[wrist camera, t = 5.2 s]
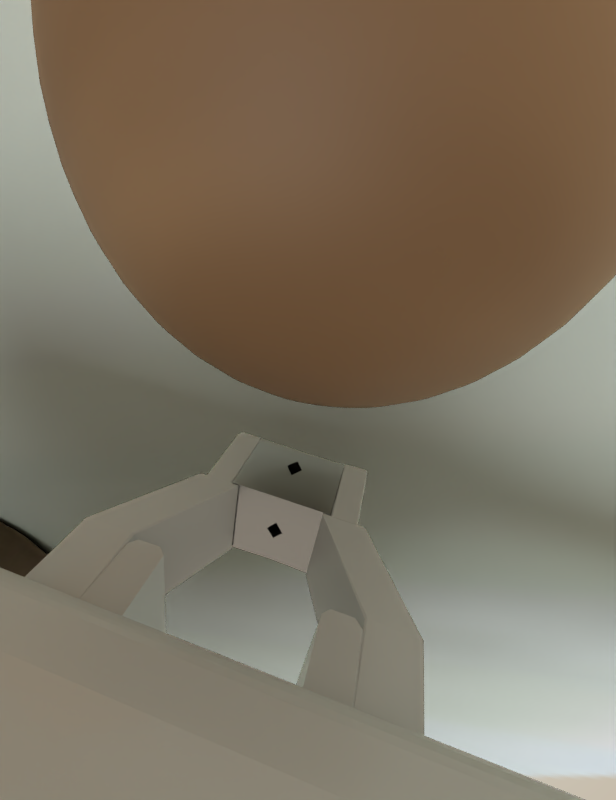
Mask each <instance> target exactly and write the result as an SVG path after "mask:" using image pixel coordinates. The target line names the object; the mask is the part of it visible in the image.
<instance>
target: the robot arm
mask: <svg viewBox="0 0 616 800" xmlns="http://www.w3.org/2000/svg"><path fill="white" fill-rule="evenodd" d="M366 479H367V470H364V469H361V468H357V467H354V466H350V465H347V464H345V466H344V464H341V463H338V462H335V461H332V460H328V459H325V458H322V457H318V456H315V455H312V454H309V453H305V452H303V451H300V450H297V449H294V448H291V447H288V446H285V445H282V444H279V443H276V442H273V441H270V440H267V439H264V438H263V439H262V438H260V437H257V436H254V435H251V434H248V433H245V432H241V433H239V434H238V435H237V436H236V437H235V439H234V440H233V441H232V443H231V444H230V445H229V447H228V448H227V449H226V451H225V452H224V453H223V455H222V456H221V457H220V459H219V460H218V461H217V463H216V464H215V465H214V466H213V468H212V469H211V470H210V472H209V473H208V474H207V475H205V474H202V473H200V474H197V475H195V476H192V477H189V478H187V479H184V480H182V481H179V482H176V483H174V484H171V485H169V486H166V487H164V488H161V489H158V490H156V491H153V492H151V493H148V494H145V495H143V496H140V497H138V498H135V499H132V500H130V501H127V502H125V503H122V504H120V505H117V506H114V507H112V508H109V509H107V510H104V511H101V512H99V513H96V514H94V515H91V516H88V517H86V518H85V519H84V520H83V521H82V522H81V523H80V524H79V525H78V526H77V527H76V528H75V529H74V530H73V531H72V532H71V533H70V534H68V535H67V536H66V537H65V538H64V539H63V540H62V541H61V542H60V543H59V544H58V545H57V546H56V547H55V548H54V549H53V550H52V551H51V552H50V553H49V554H48V555H47V556H46V557H45V558H44V559H43V560H42V561H41V562H40V563H39V564H38V565H36V566H35V567H34V568H33V569H32V570H31V571H30V572H29V573H28V574H27V575H26V576H25V577H23V576H20V575H18V574H15V573H13V572H10V571H8V570H5V569H3V568H0V800H585V799H583V798H580V797H577V796H575V795H572V794H570V793H567V792H565V791H562V790H560V789H557V788H555V787H552V786H550V785H547V784H545V783H542V782H540V781H537V780H535V779H532V778H530V777H527V776H524V775H522V774H519V773H517V772H514V771H512V770H509V769H507V768H504V767H502V766H499V765H497V764H494V763H492V762H489V761H487V760H484V759H482V758H479V757H476V756H474V755H471V754H469V753H466V752H464V751H461V750H459V749H456V748H454V747H451V746H449V745H446V744H444V743H441V742H439V741H436V740H434V739H431V738H429V737H426V736H424V641H423V639H422V637H421V635H420V633H419V631H418V629H417V628H416V626H415V624H414V622H413V620H412V618H411V616H410V614H409V612H408V610H407V608H406V606H405V604H404V602H403V600H402V598H401V596H400V595H399V593H398V591H397V589H396V587H395V585H394V583H393V581H392V579H391V577H390V575H389V573H388V571H387V569H386V567H385V565H384V563H383V562H382V560H381V558H380V556H379V554H378V552H377V550H376V548H375V546H374V544H373V542H372V540H371V538H370V536H369V534H368V532H367V530H366V529H365V527H362V526H359V525H358V523H359V517H360V512H361V506H362V501H363V495H364V490H365V484H366ZM232 547H235V548H238V549H241V550H244V551H247V552H250V553H254V554H257V555H260V556H263V557H266V558H269V559H272V560H274V561H277V562H279V563H282V564H285V565H287V566H290V567H292V568H295V569H298V570H300V571H303V572H305V573H306V578H307V582H308V586H309V590H310V594H311V598H312V602H313V606H314V611H315V615H316V619H317V623H318V625H317V628H316V630H315V633H314V636H313V639H312V642H311V644H310V647H309V650H308V653H307V656H306V658H305V661H304V664H303V667H302V669H301V672H300V675H299V678H298V681H297V683H296V685H295V684H293V683H290V682H288V681H285V680H283V679H280V678H278V677H275V676H273V675H270V674H268V673H265V672H263V671H260V670H258V669H255V668H253V667H250V666H248V665H245V664H243V663H240V662H237V661H235V660H232V659H230V658H227V657H225V656H222V655H220V654H217V653H215V652H212V651H210V650H207V649H205V648H202V647H200V646H197V645H195V644H192V643H190V642H187V641H184V640H182V639H179V638H177V637H174V636H172V635H169V634H167V633H166V611H165V595H166V594H167V593H168V592H170V591H171V590H173V589H174V588H176V587H177V586H179V585H180V584H181V583H183V582H184V581H186V580H187V579H189V578H190V577H192V576H193V575H194V574H196V573H197V572H199V571H200V570H202V569H203V568H205V567H206V566H208V565H209V564H210V563H212V562H213V561H215V560H216V559H218V558H219V557H221V556H222V555H223V554H225V553H226V552H228V551H229V550H231V548H232Z"/></svg>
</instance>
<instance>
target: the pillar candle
mask: <svg viewBox="0 0 616 800" xmlns="http://www.w3.org/2000/svg"><path fill="white" fill-rule="evenodd" d="M46 556H47V554H46V553H45V552H44V551H42V550H41V549H40V548H39V547H37V546H36V545H35V544H34V543H33V542H31V541H30V540H29V539H28V538H26V537H25V536H24V535H22V534H20V533H19V532H17V531H16V530H14V529H12V528H11V527H8V526H6V525H5V524H4V523H2V522H0V568H3V569H5V570H8V571H10V572H13V573H15V574H18V575H20V576H23V577H25V576H26V575H27V574H28V573H29V572H30V571H31V570H32V569H33V568H34V567H35V566H36V565H38V564H39V563H40V562H41V561H42V560H43V559H44V558H45V557H46Z"/></svg>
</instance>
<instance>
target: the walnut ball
mask: <svg viewBox="0 0 616 800" xmlns="http://www.w3.org/2000/svg"><path fill="white" fill-rule="evenodd" d="M31 8H32V21H33V35H34V42H35V50H36V57H37V65H38V72H39V79H40V85H41V89H42V94H43V98H44V102H45V107H46V111H47V115H48V120H49V124H50V127H51V130H52V134H53V137H54V140H55V144H56V147H57V151H58V154H59V157H60V161H61V164H62V167H63V169H64V172H65V174H66V177H67V179H68V182H69V184H70V187H71V189H72V192H73V194H74V196H75V199H76V201H77V203H78V205H79V207H80V209H81V211H82V214H83V216H84V218H85V220H86V222H87V224H88V226H89V229H90V231H91V232H92V234H93V236H94V238H95V239H96V241H97V243H98V244H99V246H100V248H101V249H102V251H103V253H104V254H105V256H106V257H107V259H108V260H109V262H110V263H111V265H112V266H113V268H114V269H115V271H116V272H117V274H118V275H119V277H120V279H121V280H122V282H123V283H124V284H125V285H126V287H127V288H128V289H129V290H130V292H131V293H132V294H133V295H134V297H135V298H136V299H137V300H138V301H139V302H140V303H141V304H142V306H143V307H144V308H145V309H146V310H147V311H148V312H149V313H150V315H151V316H152V317H153V318H154V319H155V320H156V321H157V322H158V323H159V324H160V325H161V326H162V327H163V328H164V329H165V330H166V331H167V332H168V333H170V334H171V335H172V336H173V337H174V338H176V339H177V340H178V341H179V342H180V343H181V344H183V345H184V346H185V347H186V348H187V349H189V350H190V351H191V352H192V353H194V354H195V355H196V356H198V357H199V358H200V359H202V360H204V361H205V362H207V363H209V364H210V365H212V366H214V367H215V368H217V369H219V370H220V371H222V372H224V373H225V374H227V375H229V376H230V377H232V378H234V379H236V380H238V381H240V382H242V383H244V384H247V385H249V386H252V387H254V388H257V389H260V390H262V391H265V392H267V393H270V394H273V395H275V396H278V397H282V398H285V399H289V400H293V401H297V402H302V403H308V404H314V405H321V406H330V407H343V408H371V407H382V406H389V405H395V404H401V403H407V402H413V401H418V400H423V399H427V398H430V397H433V396H436V395H439V394H442V393H445V392H448V391H451V390H454V389H457V388H460V387H463V386H465V385H468V384H470V383H473V382H475V381H477V380H479V379H481V378H483V377H485V376H487V375H489V374H490V373H492V372H494V371H496V370H498V369H500V368H502V367H504V366H506V365H508V364H509V363H511V362H513V361H515V360H517V359H518V358H520V357H521V356H523V355H524V354H526V353H527V352H528V351H530V350H531V349H532V348H534V347H535V346H537V345H538V344H539V343H541V342H542V341H543V340H545V339H546V338H548V337H549V336H550V335H552V334H553V333H554V332H556V331H557V330H558V329H560V328H561V327H563V326H564V325H565V324H566V323H567V322H568V321H569V320H570V319H571V318H573V317H574V316H575V315H576V314H577V313H578V312H579V311H580V310H581V309H582V308H583V307H584V306H585V305H586V304H587V303H588V302H589V301H590V300H591V299H592V298H593V297H594V296H595V295H596V294H597V293H598V292H599V291H600V290H601V289H602V288H603V287H604V286H605V285H606V284H607V283H608V282H609V281H610V280H611V279H612V278H613V277H614V276H615V275H616V0H31Z"/></svg>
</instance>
